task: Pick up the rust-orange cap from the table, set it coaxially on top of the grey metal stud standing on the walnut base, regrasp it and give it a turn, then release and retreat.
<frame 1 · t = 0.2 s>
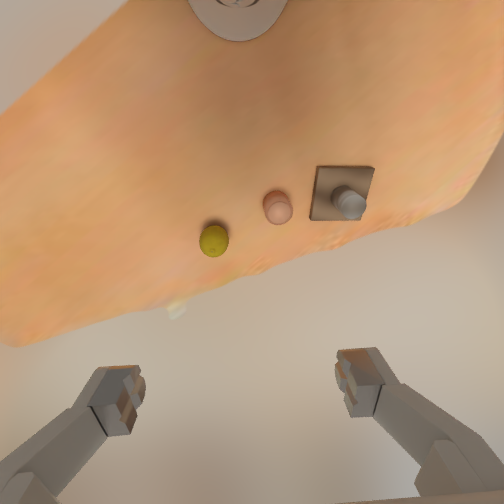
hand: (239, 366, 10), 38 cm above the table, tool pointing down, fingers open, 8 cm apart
cap: (275, 203, 47), on the table
lemon: (216, 231, 49), on the table
stud base: (338, 193, 46), on the table
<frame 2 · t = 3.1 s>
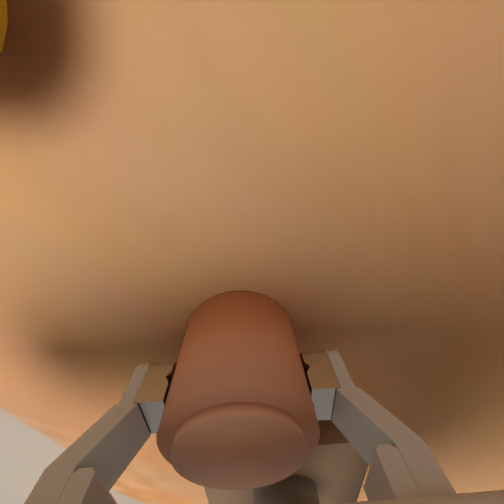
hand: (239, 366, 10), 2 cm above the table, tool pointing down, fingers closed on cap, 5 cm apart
cap: (240, 334, 11), on the table, touching gripper
stud base: (281, 461, 17), on the table
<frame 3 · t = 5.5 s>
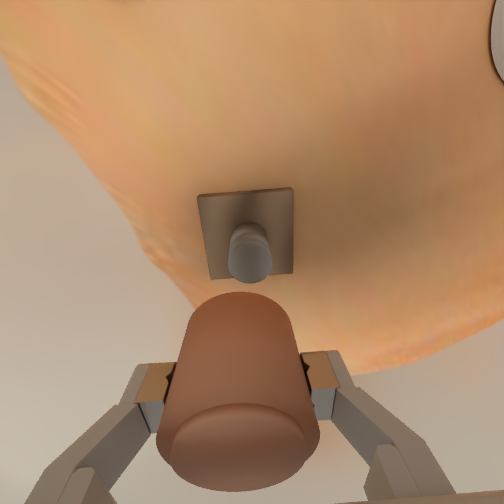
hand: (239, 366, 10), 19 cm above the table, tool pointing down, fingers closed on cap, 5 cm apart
cap: (239, 335, 11), point 18 cm above the table, touching gripper
stud base: (248, 233, 28), on the table
when the fingers open (10 cm above the table, at t = 7.8 s): cap stays where it is, resting on stud base.
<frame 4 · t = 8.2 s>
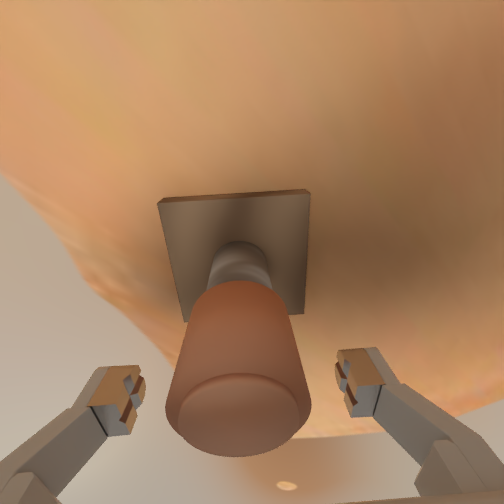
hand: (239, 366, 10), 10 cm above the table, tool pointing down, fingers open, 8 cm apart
cap: (239, 321, 12), point 7 cm above the table, touching stud base
stud base: (239, 256, 19), on the table
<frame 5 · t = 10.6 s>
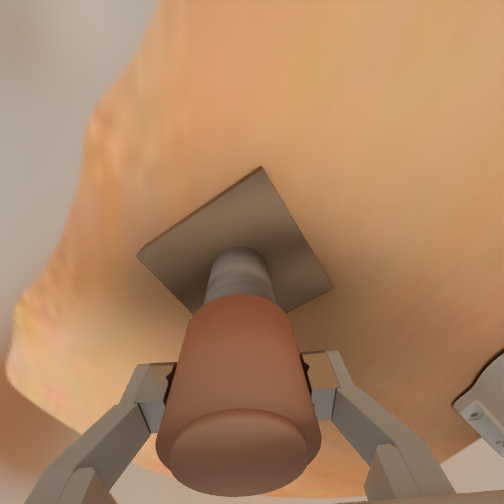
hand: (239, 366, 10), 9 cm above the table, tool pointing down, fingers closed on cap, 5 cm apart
cap: (240, 337, 11), point 7 cm above the table, touching gripper, stud base
stud base: (240, 262, 18), on the table
when the fingers open (9 cm above the table, at t = 11.8 s): cap stays where it is, resting on stud base.
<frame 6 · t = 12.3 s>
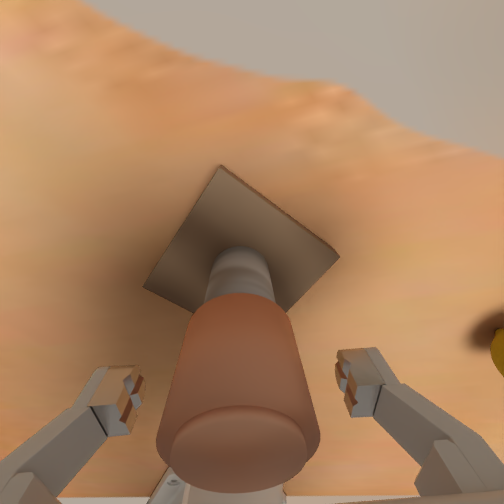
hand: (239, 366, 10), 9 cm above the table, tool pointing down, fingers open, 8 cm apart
cap: (240, 336, 11), point 7 cm above the table, touching stud base
lemon: (495, 328, 23), on the table
stud base: (240, 262, 18), on the table
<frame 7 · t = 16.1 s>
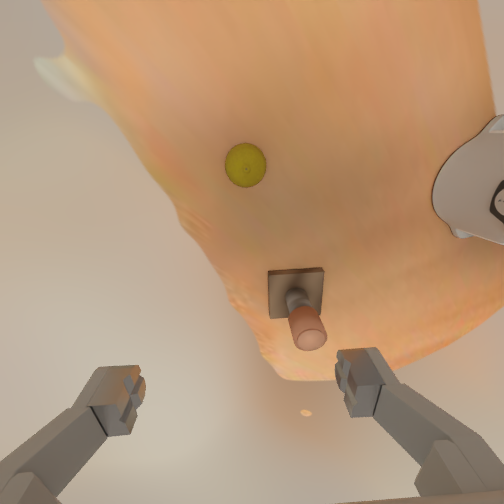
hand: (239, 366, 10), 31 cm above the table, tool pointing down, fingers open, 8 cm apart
cap: (303, 318, 40), point 7 cm above the table, touching stud base
lemon: (245, 162, 36), on the table
stud base: (294, 291, 46), on the table
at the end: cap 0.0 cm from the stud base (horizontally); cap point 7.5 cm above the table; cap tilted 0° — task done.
